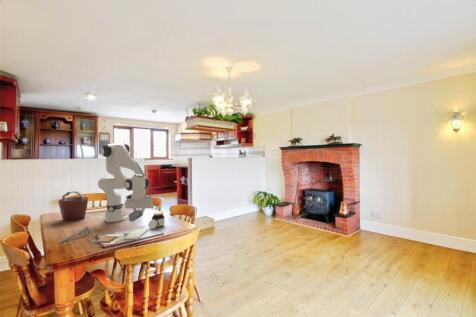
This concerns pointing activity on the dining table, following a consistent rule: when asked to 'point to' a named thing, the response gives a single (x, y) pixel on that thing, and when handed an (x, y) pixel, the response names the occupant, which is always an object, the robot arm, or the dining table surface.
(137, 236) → the tool board
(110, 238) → the tile
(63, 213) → the bucket
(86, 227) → the caliper
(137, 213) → the pusher bar
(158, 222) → the spread jar
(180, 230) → the dining table surface
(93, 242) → the mat
